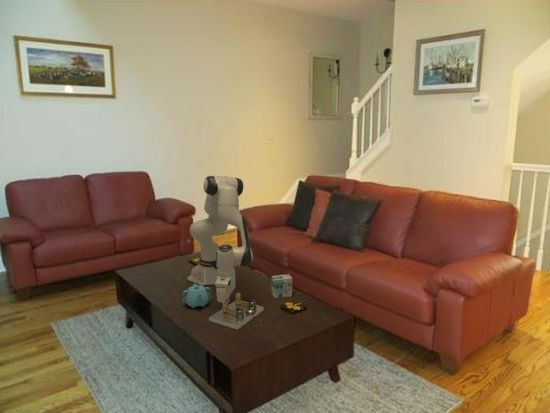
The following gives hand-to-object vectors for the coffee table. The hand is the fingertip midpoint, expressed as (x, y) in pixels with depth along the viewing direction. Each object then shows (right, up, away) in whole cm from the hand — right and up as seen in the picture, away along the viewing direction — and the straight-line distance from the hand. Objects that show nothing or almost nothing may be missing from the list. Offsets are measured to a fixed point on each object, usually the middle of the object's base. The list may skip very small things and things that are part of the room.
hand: (227, 303), depth 212 cm
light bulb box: (+28, -1, +23) cm, 36 cm away
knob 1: (+3, -4, -5) cm, 7 cm away
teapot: (-17, -4, +10) cm, 20 cm away
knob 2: (+9, -2, +5) cm, 10 cm away
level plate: (+5, -6, -2) cm, 8 cm away
